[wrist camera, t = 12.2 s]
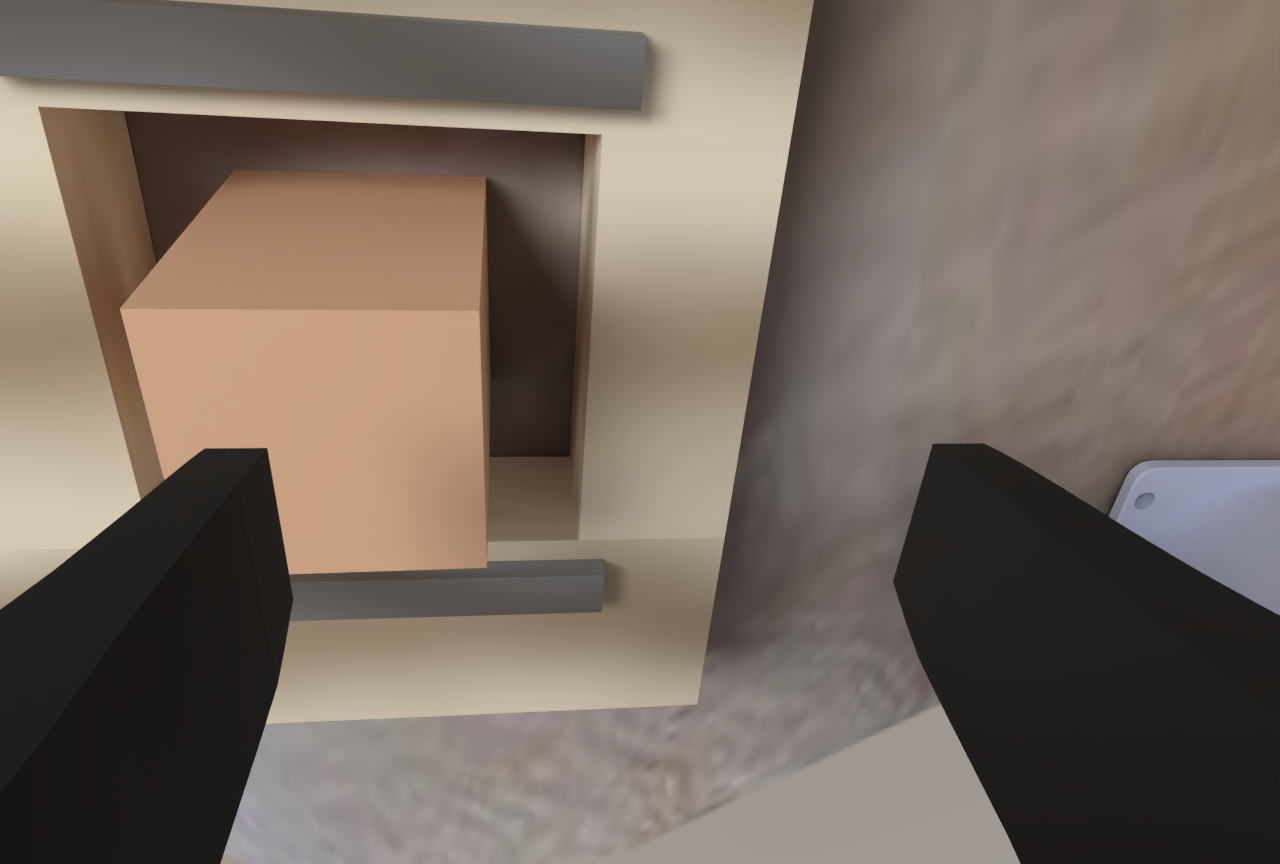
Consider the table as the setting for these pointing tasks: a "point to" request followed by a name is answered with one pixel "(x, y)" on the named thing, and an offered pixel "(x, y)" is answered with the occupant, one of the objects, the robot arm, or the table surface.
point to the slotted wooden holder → (605, 325)
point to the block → (333, 359)
